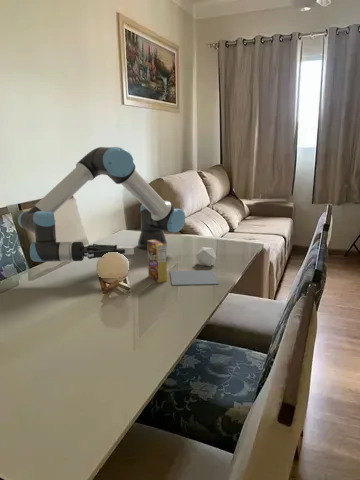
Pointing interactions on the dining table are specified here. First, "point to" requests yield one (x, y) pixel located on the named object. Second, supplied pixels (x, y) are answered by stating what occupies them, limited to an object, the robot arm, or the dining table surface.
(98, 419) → the dining table surface
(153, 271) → the candy box
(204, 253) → the die
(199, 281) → the felt mat
